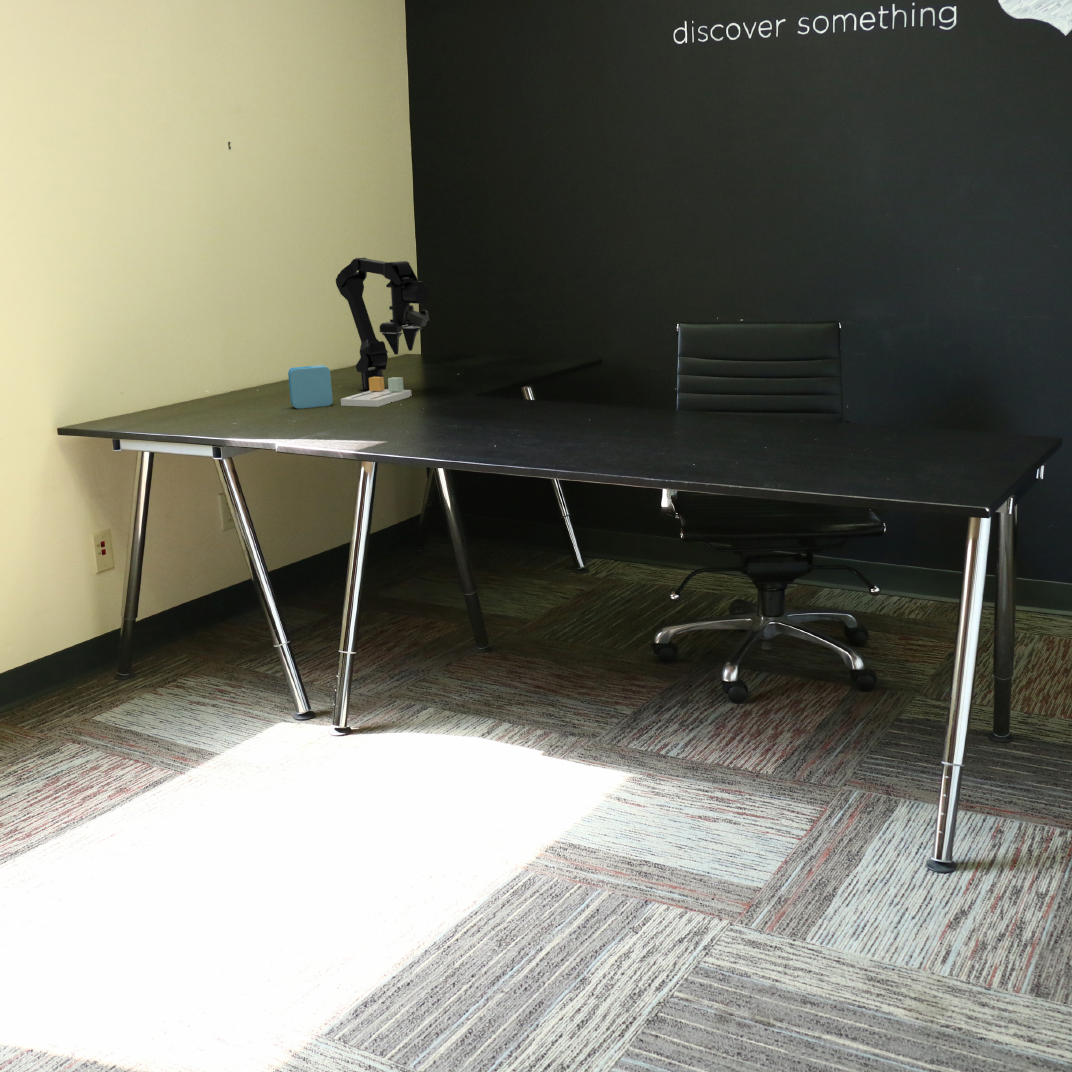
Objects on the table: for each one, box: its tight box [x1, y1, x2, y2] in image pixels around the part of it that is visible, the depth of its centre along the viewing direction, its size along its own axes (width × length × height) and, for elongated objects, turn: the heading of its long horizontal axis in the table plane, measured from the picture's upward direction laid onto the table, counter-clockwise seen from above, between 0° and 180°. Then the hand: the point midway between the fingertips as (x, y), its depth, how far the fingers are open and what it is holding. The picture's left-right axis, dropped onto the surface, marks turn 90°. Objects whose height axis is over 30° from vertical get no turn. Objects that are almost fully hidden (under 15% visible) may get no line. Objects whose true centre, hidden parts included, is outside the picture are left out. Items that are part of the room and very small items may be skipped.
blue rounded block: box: [287, 364, 334, 410], centre depth 356 cm, size 12×4×12 cm, turn 110°
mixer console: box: [340, 388, 412, 408], centre depth 362 cm, size 13×20×2 cm, turn 155°
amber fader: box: [369, 377, 385, 391], centre depth 368 cm, size 4×3×4 cm
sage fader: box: [387, 376, 405, 392], centre depth 365 cm, size 4×3×4 cm
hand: (403, 352), depth 371 cm, fingers open, 9 cm apart
